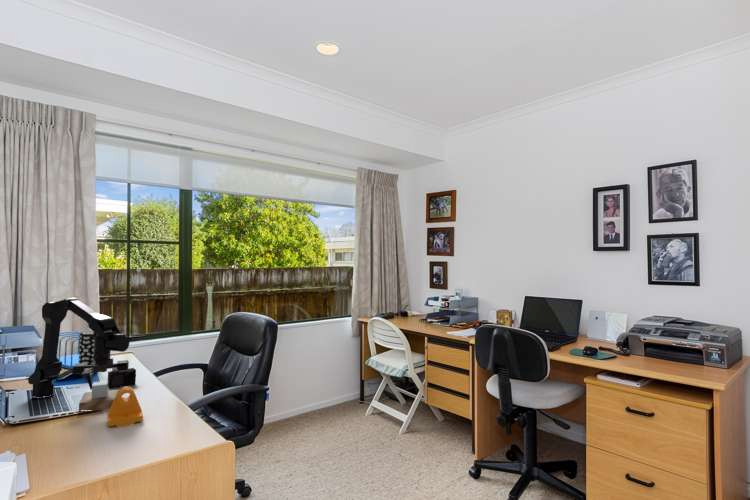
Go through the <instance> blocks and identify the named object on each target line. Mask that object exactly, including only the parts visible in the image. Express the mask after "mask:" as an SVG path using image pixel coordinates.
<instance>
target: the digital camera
mask: <svg viewBox="0 0 750 500" xmlns="http://www.w3.org/2000/svg"><path fill="white" fill-rule="evenodd" d="M111 372H112V370H111V371H107V381H108V389H109V390H114V389H117V388H119V389H120V388H122V387H125V386H129V387H131V386H135V385H136V378H137V369H136V368H134V367H131V368H130V367H128V370H121V371H120V372H119V373H116V375H115V377H114V379H113V381H112V384H111V387H110V388H109V382H110V377H111Z"/></svg>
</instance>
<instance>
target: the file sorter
mask: <svg viewBox="0 0 750 500" xmlns="http://www.w3.org/2000/svg"><path fill="white" fill-rule="evenodd" d="M80 333H82V332H81V331H80V332H79V331H77V330H74V331H64V332H60V334H59V337H60V338H59V342H58V356H57V358H58V360H59V361H62V366H61V368H65V369H69V370H72V368H73V366H74V365H75V364H79V344H80ZM65 338H67V339H66V340H65V342H64V343H65V345H64V346H65V347H64V355H63V356H61V346H62V340H63V339H65ZM71 339H74V340H73V341H72V342H71V347H70V348H71V350H70V351H71V353H70V354H69V355H67V347H68V341H69V340H71ZM76 341H78V343H77V353H75V354H73V352H74V351H73V350H74V343H75V342H76Z"/></svg>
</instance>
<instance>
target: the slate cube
mask: <svg viewBox="0 0 750 500" xmlns="http://www.w3.org/2000/svg"><path fill="white" fill-rule="evenodd" d="M108 390H109V388H108V380H104V381H102V380H101V381H93V382H92V390H91V392H92V399H94V398H102V397H107V395H108Z"/></svg>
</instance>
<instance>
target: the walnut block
mask: <svg viewBox="0 0 750 500" xmlns="http://www.w3.org/2000/svg"><path fill="white" fill-rule="evenodd" d="M120 389H121V388H119V389H108V395H107V397H102V398H94V399H92V391H89V392H83V395H82V397H81V399H80V401H79V403H78V412H79V411H81V410H93V411H92V412H95V411H104V410H110V408H111V406H112V403H113V401H114V399H115V397H116V395H117V393H118V391H119V390H120Z"/></svg>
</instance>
